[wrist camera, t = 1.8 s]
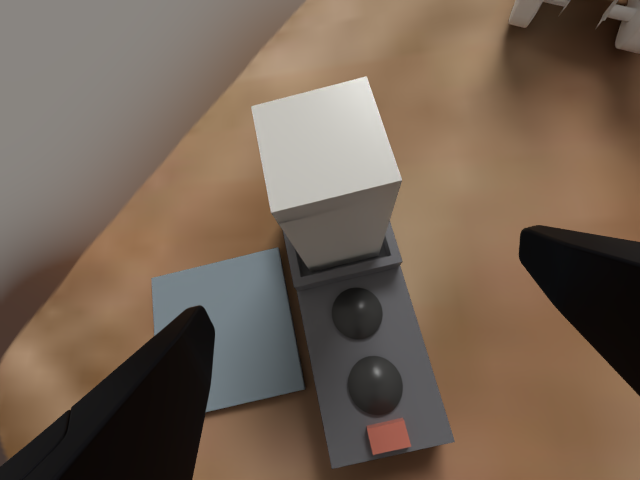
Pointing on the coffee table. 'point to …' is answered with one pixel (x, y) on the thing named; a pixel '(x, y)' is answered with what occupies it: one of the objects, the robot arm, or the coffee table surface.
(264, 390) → the rubber pad
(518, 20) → the cable organizer
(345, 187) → the block
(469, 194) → the coffee table surface
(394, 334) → the power strip
